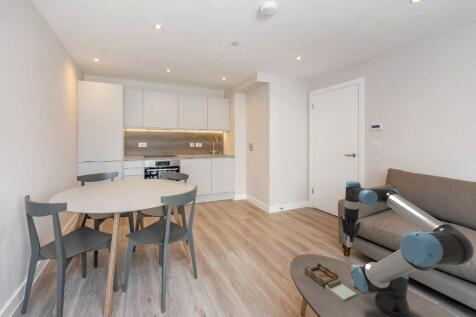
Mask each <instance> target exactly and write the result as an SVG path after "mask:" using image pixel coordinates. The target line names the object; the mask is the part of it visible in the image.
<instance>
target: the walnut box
mask: <svg viewBox="0 0 476 317" xmlns="http://www.w3.org/2000/svg"><path fill="white" fill-rule="evenodd" d="M304 275H306V276H308V277H309V278H310V279H311V280H313V281H315V283H317V285H320V286H321V287H322V288H325V285H328V283H329V282H332V281H335V280H337V279H339V274H338V273H337V272H335V271H333V270H332V269H330V268H328V267H327V266H325V264H322V263H320V262H318V263H316V266H313V267H310V266H307V265H306V266H304Z"/></svg>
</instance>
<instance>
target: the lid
mask: <svg viewBox="0 0 476 317" xmlns="http://www.w3.org/2000/svg"><path fill="white" fill-rule="evenodd" d="M324 288H325V289H326V290H328V291H329V292H331V293H332V294H333V295H335V297H338V298H339V299H340V300H341V301H343V302H345V301H346V300H349V299H351V298H353V297H356V296H357V293H356V292H355V291H353V290H352V289H351V288H348V287H347V286H346V285H344V284H343V283H342V280H341V279H340V278H338V279H337V280H335V281H332V282H329V283H328V285H325V287H324Z"/></svg>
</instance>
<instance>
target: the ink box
mask: <svg viewBox="0 0 476 317" xmlns="http://www.w3.org/2000/svg"><path fill="white" fill-rule="evenodd" d="M364 265H365V264H363V265H362V264H351V265H350V282H349V283H350V284H351V286H352V287H353V288H358V287H357V286H356V284H355V282H354V279H353V268H354V267H356V266H364Z"/></svg>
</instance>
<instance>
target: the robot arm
mask: <svg viewBox="0 0 476 317" xmlns="http://www.w3.org/2000/svg"><path fill="white" fill-rule="evenodd" d="M344 196H345V197H344V199H345V200H344V211H343V212H344V214H343V215H340V217H339V218H340V220H341V225H342V232H343V234H345V240H346V247H347V248H352V247H353V242H354V238H355V237H358V234H359V231H360V228H361V226H362V225H363V222H362V221H360V219H359V212H360V203H363V204H365V205H370V206H371V205H374V204H381V203H384V204H385V205H386V206H388V207H389V208H390V209H392V210H393V211H395V213H397V214H399V215H400V216H401V217H402V218H404V219H405V220H407V221H408V222H409V223H411V224H412V225H413V226H415V227H416V228H417V229H419V230H420V231H413V232H408V233H406V234H404V235H403V236H402V238H401V240H400V242H401V243H400V245H399V249H398V250H396V251H395V252H392V253H391V254H389V255H387V256H385V257H383V258H382V259H381V260H379V261H377V262H376V261H375V262H374V261H370V262H367V263H366V264H363V265H364V266H356V267H354V268H353V279H354V282H355V284H356V286H357V287H356V288H357V289H358V290H359V291H360V292H362V293H376V294H375V296H374V304H375V305H376V307H377V308H378V309H379V310H380V311H381V312H383V313H385V314H386V315H388V316H391V317H410V315H411V308H410V305H409V302H408V299H407V296H408V286H409V279H410V277H409V274H410V273H413V272H415V271H417V270H418V271H421V272H427V271H430V270H432V269H435V268H438V267H442V266H459V265H460V266H461V265H464V264H467V263H468V262H470V261H471V259H472V258H473V257H474V254H475V252H474V251H475V250H474V246H473V244H472V242H471V240H470V239H469V238H468V237H467V236H466V235H465V234H464V233H463V232H462V231H460V230H459V229H458V228H456V227H454V226H452V225H451V224H449V223H443V222H441V221H440V220H439V219H437V218H435V217H433V216H432V215H431V214H429V213H427V212H425V211H424V210H423V209H421V208H420V207H418V206H417V205H415V204H413V203H412V202H410V201H408V200H407V199H405V198H404V197H402V196H401V193H400V192H399V190H397V189H396V188H391V187H390V188H367V187H366V188H364V187H362V185H361V182H359V181H354V180H349V181H347V182H346V184H345V195H344Z"/></svg>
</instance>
